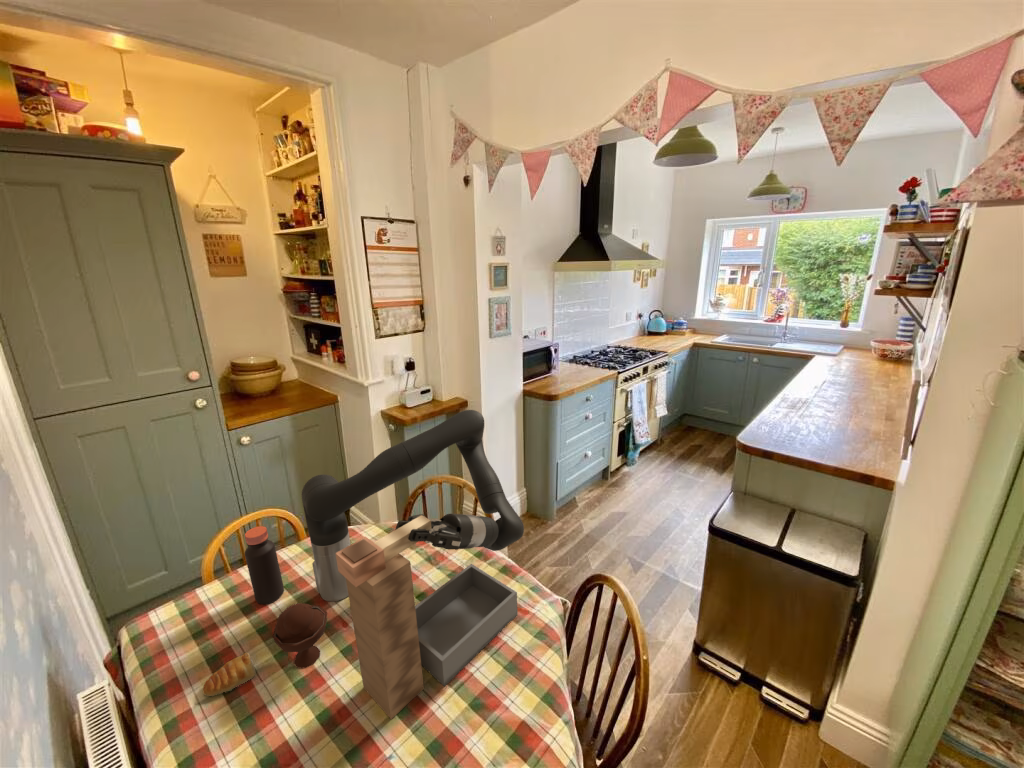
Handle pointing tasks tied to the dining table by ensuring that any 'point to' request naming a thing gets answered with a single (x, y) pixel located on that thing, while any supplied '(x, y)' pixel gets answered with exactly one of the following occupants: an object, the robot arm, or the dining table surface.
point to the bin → (462, 621)
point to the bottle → (263, 566)
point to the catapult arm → (376, 552)
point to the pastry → (230, 675)
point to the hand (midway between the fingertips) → (404, 530)
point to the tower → (388, 635)
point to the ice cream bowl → (301, 632)
